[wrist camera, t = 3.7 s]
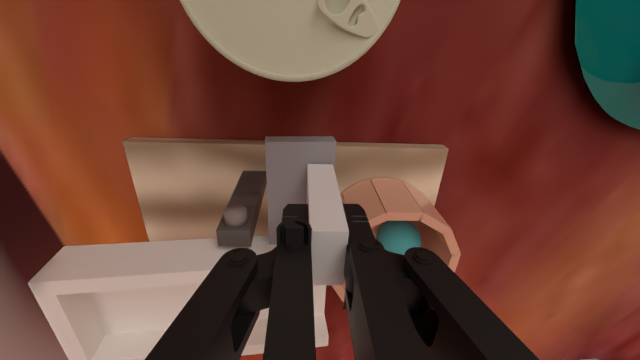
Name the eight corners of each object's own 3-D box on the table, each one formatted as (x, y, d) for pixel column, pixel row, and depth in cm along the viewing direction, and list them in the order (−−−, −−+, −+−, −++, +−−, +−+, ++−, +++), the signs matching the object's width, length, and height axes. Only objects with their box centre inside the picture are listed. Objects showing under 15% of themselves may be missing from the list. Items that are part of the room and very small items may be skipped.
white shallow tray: (16, 137, 15) (-40, 159, 12) (333, 136, 17) (344, 154, 15) (101, 332, 21) (76, 374, 19) (321, 311, 24) (327, 345, 21)
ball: (431, 219, 26) (389, 205, 28) (417, 242, 23) (371, 224, 25) (422, 254, 28) (383, 238, 30) (408, 279, 25) (366, 260, 27)
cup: (327, 175, 26) (333, 212, 21) (439, 177, 27) (474, 213, 21) (321, 265, 30) (325, 313, 25) (417, 264, 31) (441, 311, 26)
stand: (130, 137, 25) (31, 193, 16) (442, 144, 26) (514, 198, 18) (164, 270, 31) (108, 364, 22) (412, 269, 33) (453, 355, 24)
